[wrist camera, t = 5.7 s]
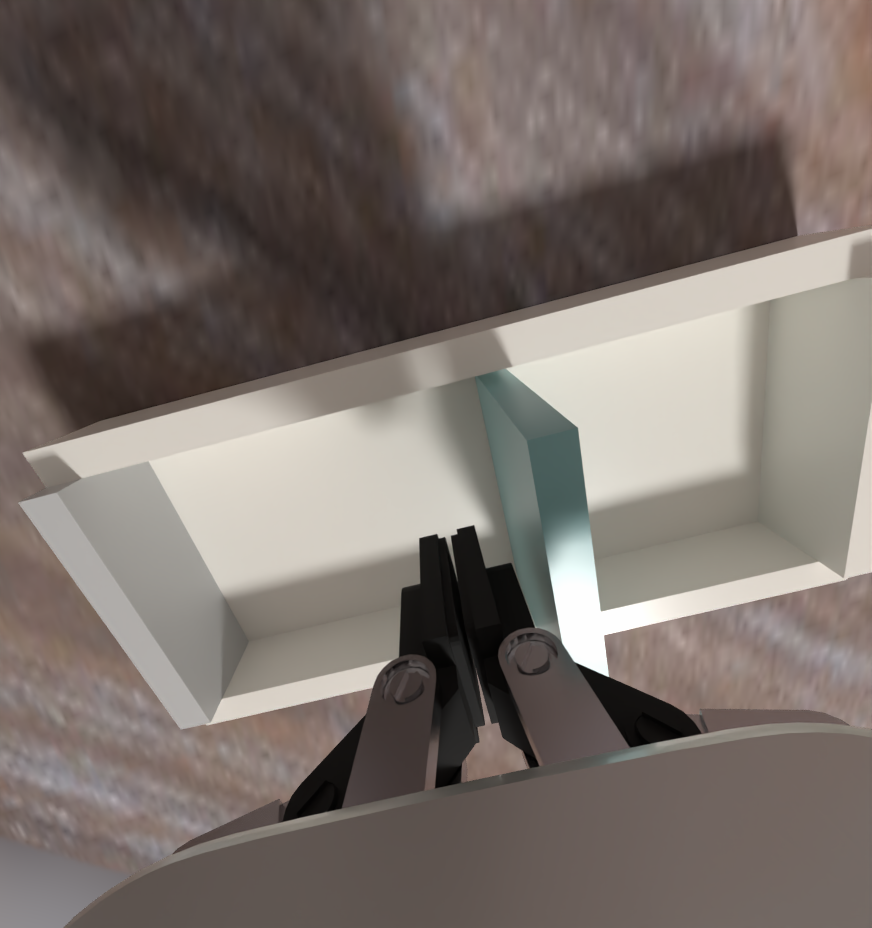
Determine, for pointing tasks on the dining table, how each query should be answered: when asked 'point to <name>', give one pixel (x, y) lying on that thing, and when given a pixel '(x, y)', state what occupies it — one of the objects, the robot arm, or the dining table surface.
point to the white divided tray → (480, 475)
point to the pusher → (545, 513)
